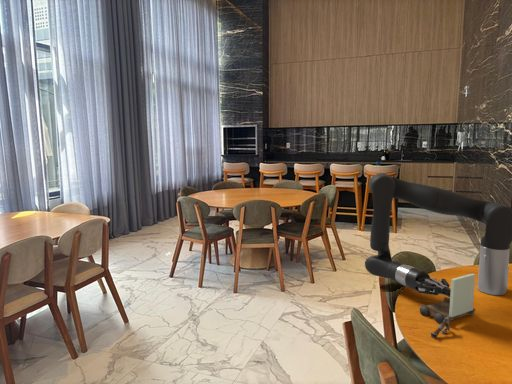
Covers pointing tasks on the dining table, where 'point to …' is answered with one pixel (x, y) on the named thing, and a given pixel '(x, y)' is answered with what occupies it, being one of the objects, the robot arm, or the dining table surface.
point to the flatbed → (441, 311)
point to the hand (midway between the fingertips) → (455, 295)
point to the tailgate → (462, 295)
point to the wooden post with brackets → (441, 326)
